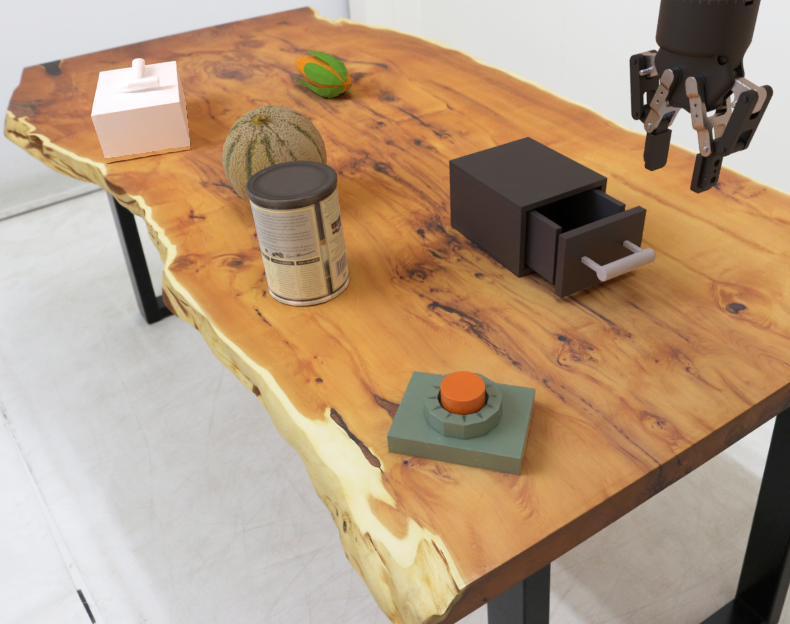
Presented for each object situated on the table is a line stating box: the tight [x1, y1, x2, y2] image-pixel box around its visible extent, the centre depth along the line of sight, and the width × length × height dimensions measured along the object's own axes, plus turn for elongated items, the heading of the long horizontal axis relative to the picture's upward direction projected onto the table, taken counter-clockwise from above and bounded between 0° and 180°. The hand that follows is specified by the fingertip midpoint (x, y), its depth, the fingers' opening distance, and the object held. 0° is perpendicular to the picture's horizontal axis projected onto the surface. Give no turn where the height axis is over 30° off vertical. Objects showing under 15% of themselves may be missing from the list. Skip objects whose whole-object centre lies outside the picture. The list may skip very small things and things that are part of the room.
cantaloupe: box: [221, 104, 328, 205], centre depth 102 cm, size 15×15×15 cm
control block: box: [386, 370, 537, 476], centre depth 66 cm, size 12×9×4 cm
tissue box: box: [90, 57, 191, 159], centre depth 131 cm, size 14×25×11 cm, turn 16°
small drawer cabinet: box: [448, 136, 608, 278], centre depth 91 cm, size 16×13×10 cm
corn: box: [293, 49, 353, 99], centre depth 144 cm, size 7×8×20 cm
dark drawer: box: [524, 188, 657, 299], centre depth 84 cm, size 19×11×8 cm, turn 28°
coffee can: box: [246, 161, 351, 307], centre depth 84 cm, size 10×10×14 cm
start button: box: [440, 370, 485, 415], centre depth 64 cm, size 4×4×2 cm
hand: (677, 178), depth 67 cm, fingers open, 5 cm apart
